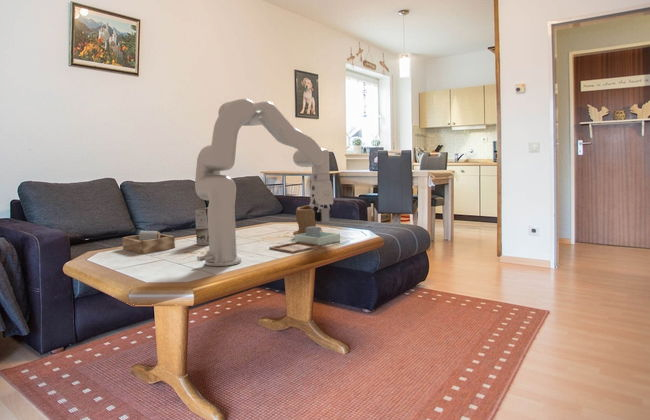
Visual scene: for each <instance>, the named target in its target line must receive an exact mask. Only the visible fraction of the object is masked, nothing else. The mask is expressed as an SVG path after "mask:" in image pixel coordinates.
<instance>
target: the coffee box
mask: <svg viewBox="0 0 650 420" xmlns="http://www.w3.org/2000/svg"><path fill="white" fill-rule="evenodd" d="M207 213H208V206H207V207H200V208H195V210H194V215H195V217H194V218H195V235H196V236H195V237H196V246H209V234H208V217H207Z"/></svg>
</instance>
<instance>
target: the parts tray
mask: <svg viewBox="0 0 650 420" xmlns="http://www.w3.org/2000/svg"><path fill="white" fill-rule="evenodd" d="M322 247H323V245H318V244H311V243H305V242H295V241H293V242H289V243H285V244H284V243H282V244H279V245H273V246H269V248H268V249H269V250H271V251H276V252H283V253H289V254H299V253H301V252H305V251H310V250H311V251H312V250H314V249H315V250H316V249H319V248H322Z"/></svg>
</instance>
